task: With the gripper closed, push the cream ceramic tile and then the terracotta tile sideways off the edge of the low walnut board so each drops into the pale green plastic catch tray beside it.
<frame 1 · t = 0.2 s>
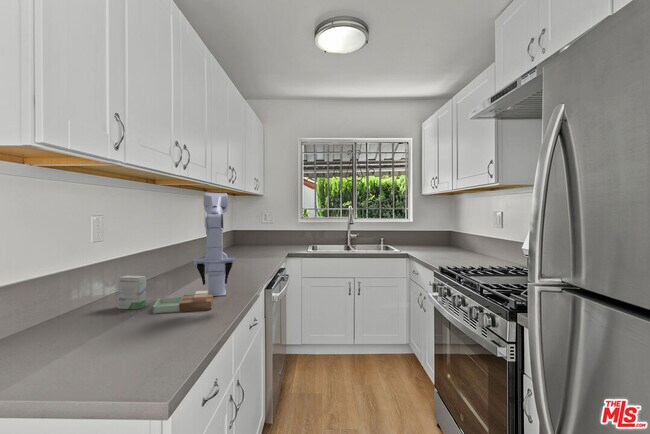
hand: (215, 283, 135), 10 cm above the worktop, fingers open, 7 cm apart
catch tray: (169, 307, 138), on the worktop
walnut board: (197, 306, 140), on the worktop
ink box: (132, 308, 138), on the worktop
terracotta tile: (200, 299, 138), point 3 cm above the worktop, touching walnut board
cream tile: (201, 296, 143), point 3 cm above the worktop, touching walnut board
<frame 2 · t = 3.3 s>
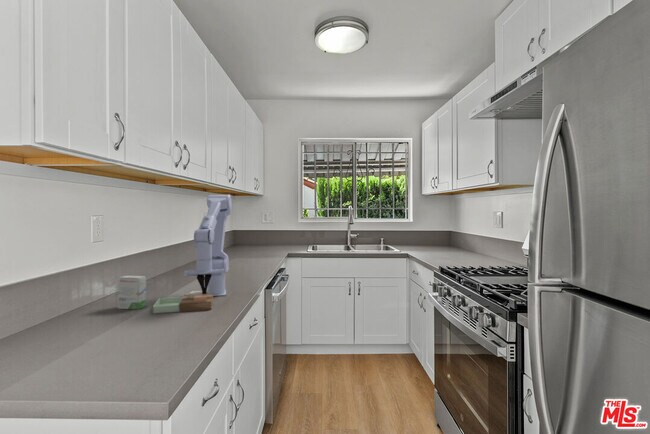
hand: (204, 293, 144), 4 cm above the worktop, fingers closed
cream tile: (196, 296, 143), point 3 cm above the worktop, touching gripper
everything else where it was.
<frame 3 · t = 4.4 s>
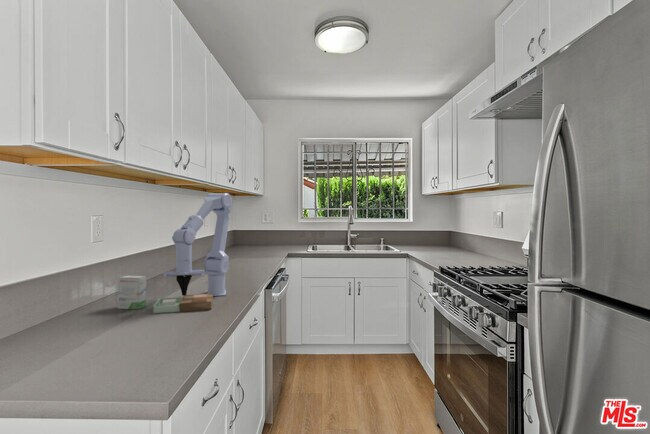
hand: (184, 294, 142), 4 cm above the worktop, fingers closed
cream tile: (169, 300, 140), point 2 cm above the worktop, tilted 180°, touching catch tray
everything else where it was.
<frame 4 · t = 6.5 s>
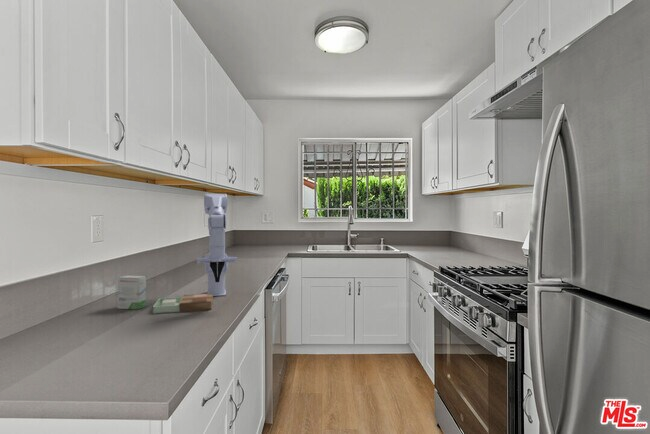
hand: (217, 281, 140), 9 cm above the worktop, fingers closed
nothing on the worktop moved.
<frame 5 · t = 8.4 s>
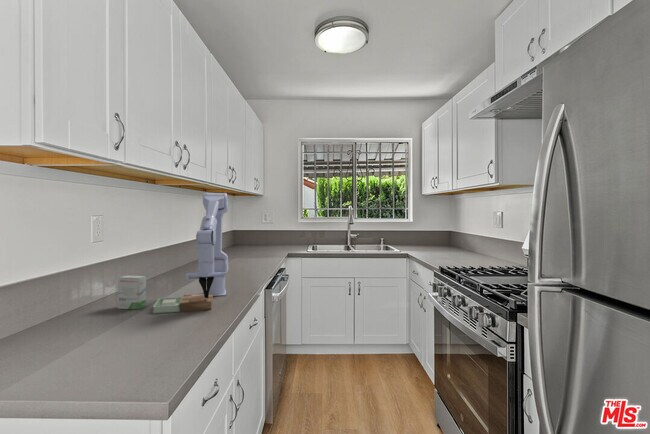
hand: (206, 297, 138), 4 cm above the worktop, fingers closed
terracotta tile: (197, 300, 137), point 3 cm above the worktop, touching gripper
everything else where it was.
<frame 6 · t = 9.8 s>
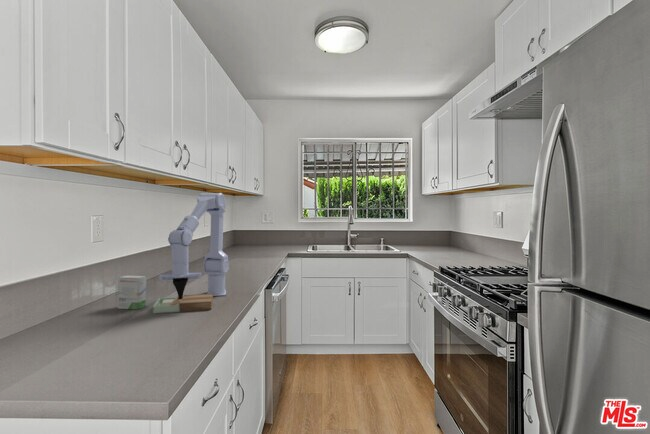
hand: (180, 298, 136), 4 cm above the worktop, fingers closed, pressing on terracotta tile
terracotta tile: (176, 304, 135), point 2 cm above the worktop, tilted 44°, touching catch tray, gripper
everything else where it was.
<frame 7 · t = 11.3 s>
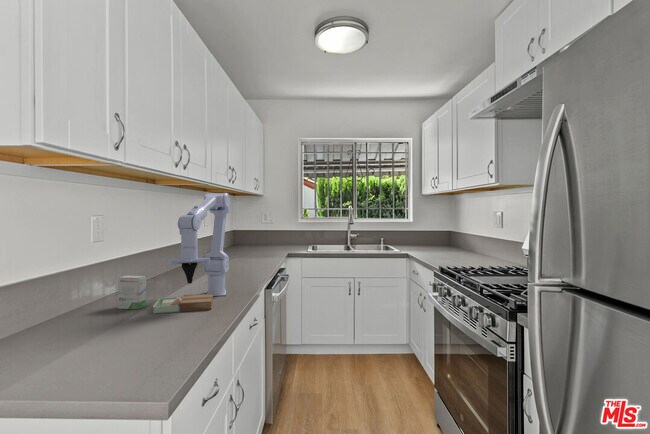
hand: (189, 283, 137), 9 cm above the worktop, fingers closed
terracotta tile: (176, 304, 135), point 2 cm above the worktop, tilted 39°, touching catch tray, walnut board
everything else where it was.
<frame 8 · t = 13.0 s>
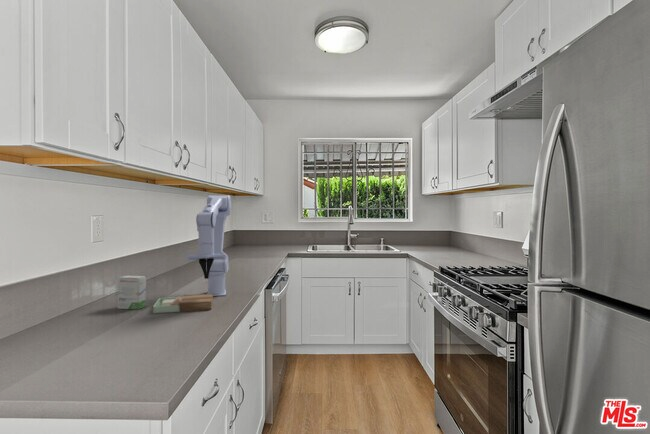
hand: (206, 278, 142), 10 cm above the worktop, fingers closed
nothing on the worktop moved.
at the end: cream tile inside the target area on the catch tray (2.7 cm from its centre), point 2.0 cm above the catch tray's base; terracotta tile inside the target area on the catch tray (4.5 cm from its centre), point 1.9 cm above the catch tray's base; cream tile touching catch tray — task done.
